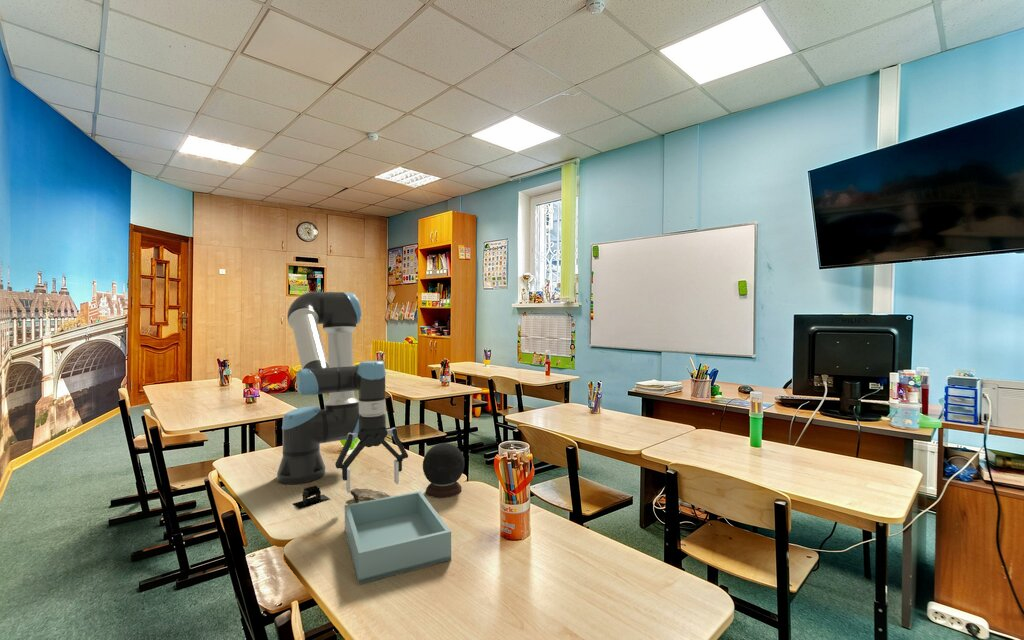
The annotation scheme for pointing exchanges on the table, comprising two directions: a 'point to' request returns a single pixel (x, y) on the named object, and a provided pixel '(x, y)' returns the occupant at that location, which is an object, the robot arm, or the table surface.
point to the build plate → (313, 500)
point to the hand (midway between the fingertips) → (373, 486)
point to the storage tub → (395, 536)
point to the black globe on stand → (443, 470)
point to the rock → (367, 495)
